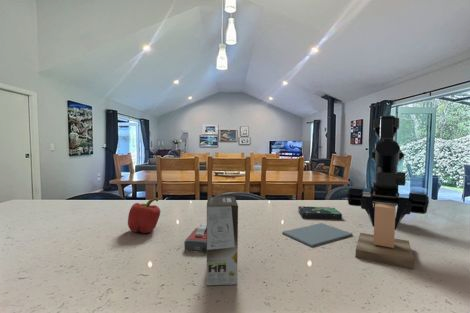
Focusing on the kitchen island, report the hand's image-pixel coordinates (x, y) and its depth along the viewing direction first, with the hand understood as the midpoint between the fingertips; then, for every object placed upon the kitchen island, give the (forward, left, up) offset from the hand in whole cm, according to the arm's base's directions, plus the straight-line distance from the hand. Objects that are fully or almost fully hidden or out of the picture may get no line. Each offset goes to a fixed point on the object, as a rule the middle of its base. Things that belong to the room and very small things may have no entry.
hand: (384, 227), depth 65 cm
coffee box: (+42, -7, -7) cm, 43 cm away
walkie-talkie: (+39, -27, -8) cm, 48 cm away
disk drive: (-10, -35, -8) cm, 37 cm away
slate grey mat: (+6, -18, -7) cm, 20 cm away
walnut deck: (-1, -1, -7) cm, 7 cm away
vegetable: (+55, -42, -7) cm, 69 cm away
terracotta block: (-1, -1, -5) cm, 5 cm away
